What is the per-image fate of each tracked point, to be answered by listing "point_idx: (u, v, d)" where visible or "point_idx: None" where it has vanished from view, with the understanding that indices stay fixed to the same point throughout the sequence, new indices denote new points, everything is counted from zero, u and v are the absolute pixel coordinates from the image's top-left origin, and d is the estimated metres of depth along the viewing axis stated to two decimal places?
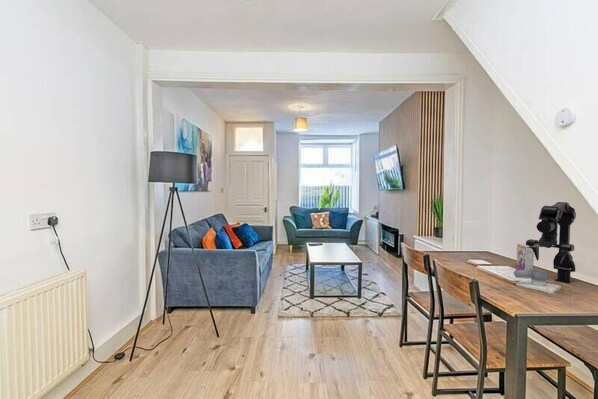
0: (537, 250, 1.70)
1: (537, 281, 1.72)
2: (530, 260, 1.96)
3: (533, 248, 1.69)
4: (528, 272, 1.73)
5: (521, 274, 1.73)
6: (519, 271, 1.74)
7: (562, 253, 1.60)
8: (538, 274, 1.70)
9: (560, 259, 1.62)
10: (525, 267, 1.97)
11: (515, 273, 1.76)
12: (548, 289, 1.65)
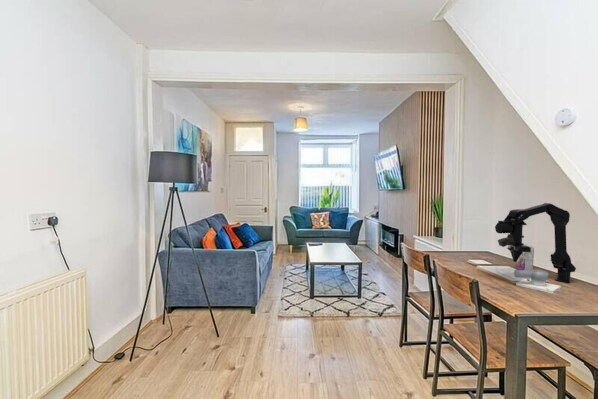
0: None
1: (537, 281, 1.72)
2: (530, 260, 1.96)
3: (509, 249, 1.83)
4: (528, 272, 1.73)
5: (521, 274, 1.73)
6: (519, 271, 1.74)
7: (512, 251, 1.80)
8: (538, 274, 1.70)
9: (513, 257, 1.81)
10: (525, 267, 1.97)
11: (515, 273, 1.76)
12: (548, 289, 1.65)
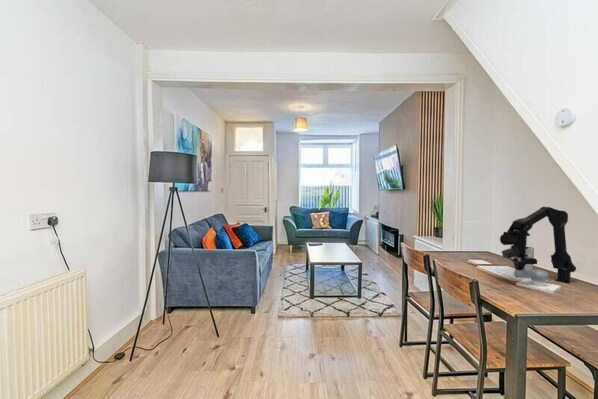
0: None
1: (537, 281, 1.72)
2: None
3: (512, 261, 1.78)
4: (529, 272, 1.73)
5: (521, 274, 1.73)
6: (519, 271, 1.73)
7: (516, 263, 1.75)
8: (538, 274, 1.70)
9: (517, 268, 1.76)
10: (525, 267, 1.97)
11: (515, 274, 1.76)
12: (548, 289, 1.65)
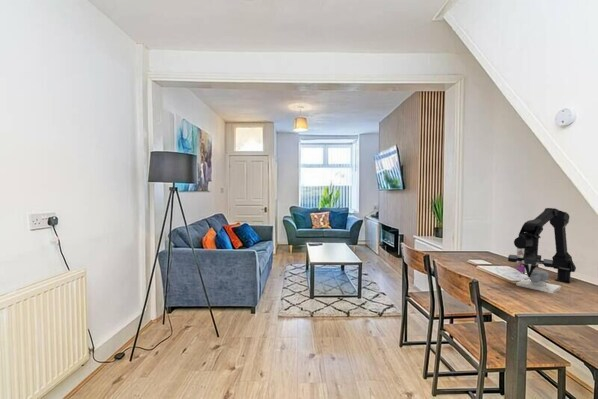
0: (528, 267, 1.69)
1: None
2: None
3: (526, 265, 1.68)
4: (540, 275, 1.68)
5: (539, 278, 1.65)
6: (537, 275, 1.66)
7: (533, 267, 1.67)
8: (546, 274, 1.70)
9: (530, 273, 1.68)
10: None
11: (532, 279, 1.66)
12: (548, 289, 1.65)
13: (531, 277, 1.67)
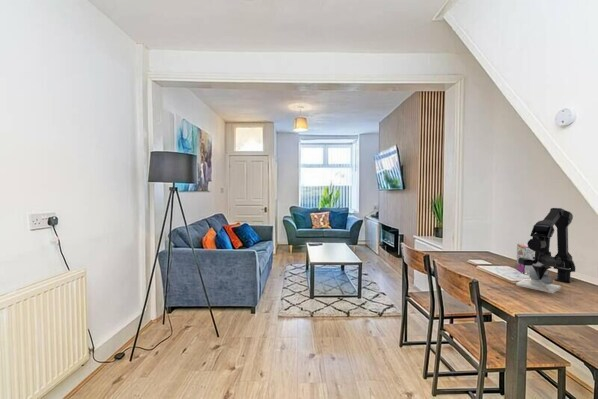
0: None
1: (537, 281, 1.72)
2: None
3: (540, 268, 1.63)
4: None
5: None
6: (550, 277, 1.64)
7: (545, 269, 1.64)
8: None
9: (542, 275, 1.65)
10: (525, 267, 1.97)
11: (546, 281, 1.63)
12: (548, 289, 1.65)
13: (545, 279, 1.63)
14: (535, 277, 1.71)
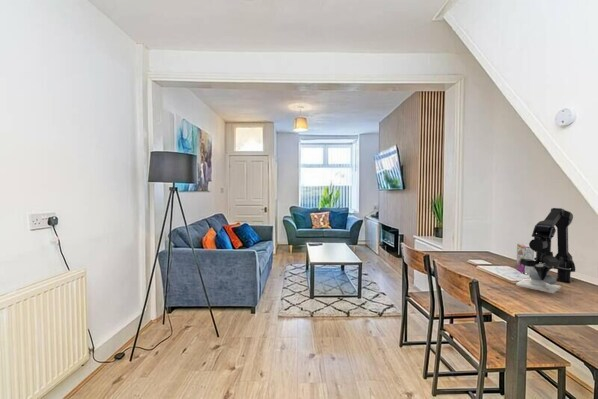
0: None
1: (537, 281, 1.72)
2: None
3: (542, 268, 1.63)
4: None
5: None
6: (553, 277, 1.63)
7: (548, 269, 1.63)
8: None
9: (544, 275, 1.64)
10: (525, 267, 1.97)
11: (550, 281, 1.63)
12: (548, 289, 1.65)
13: (549, 279, 1.63)
14: (537, 278, 1.71)
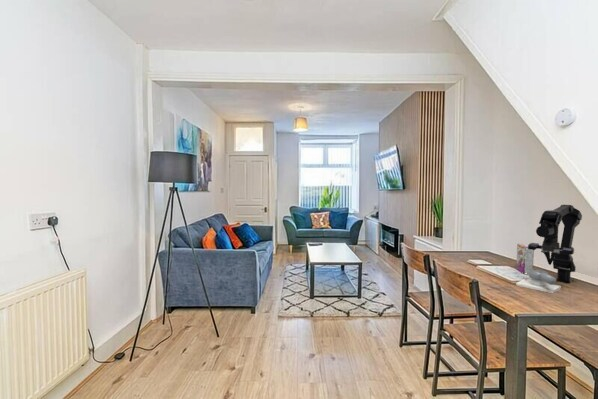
0: (549, 254, 1.75)
1: (537, 281, 1.72)
2: (530, 260, 1.96)
3: (545, 253, 1.73)
4: None
5: None
6: (553, 277, 1.63)
7: (553, 255, 1.72)
8: None
9: (551, 260, 1.73)
10: (525, 267, 1.97)
11: (550, 281, 1.63)
12: (548, 289, 1.65)
13: (549, 279, 1.63)
14: (537, 278, 1.71)
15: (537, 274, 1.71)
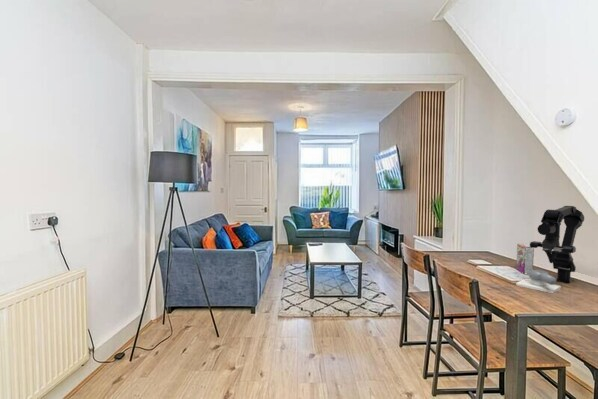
0: (550, 253, 1.76)
1: (537, 281, 1.72)
2: (530, 260, 1.96)
3: (546, 251, 1.75)
4: None
5: None
6: (553, 277, 1.63)
7: (554, 253, 1.73)
8: None
9: (552, 258, 1.75)
10: (525, 267, 1.97)
11: (550, 281, 1.63)
12: (548, 289, 1.65)
13: (549, 279, 1.63)
14: (537, 278, 1.71)
15: (537, 274, 1.71)
